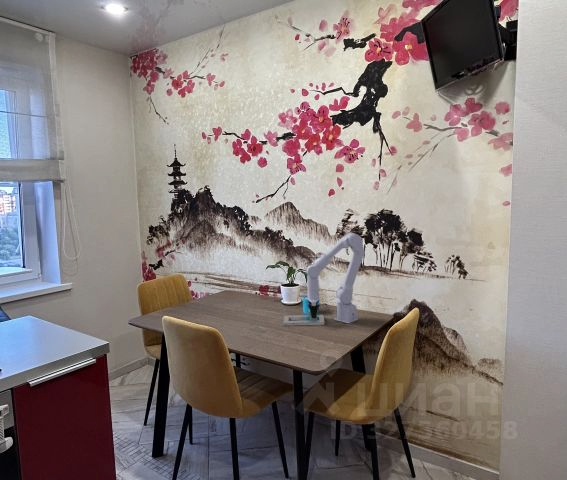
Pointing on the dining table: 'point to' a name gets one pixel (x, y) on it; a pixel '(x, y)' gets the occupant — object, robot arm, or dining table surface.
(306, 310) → the mug
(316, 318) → the plug
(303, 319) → the panel
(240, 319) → the dining table surface
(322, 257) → the robot arm
